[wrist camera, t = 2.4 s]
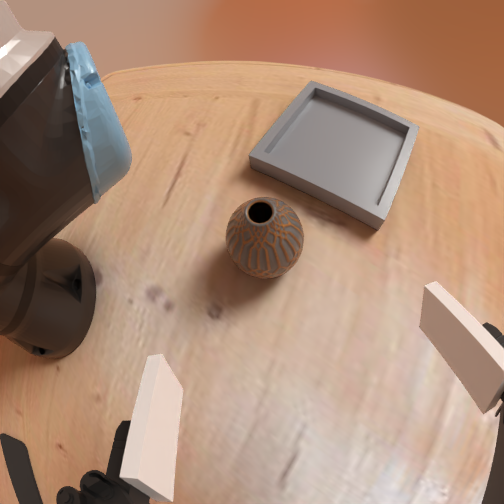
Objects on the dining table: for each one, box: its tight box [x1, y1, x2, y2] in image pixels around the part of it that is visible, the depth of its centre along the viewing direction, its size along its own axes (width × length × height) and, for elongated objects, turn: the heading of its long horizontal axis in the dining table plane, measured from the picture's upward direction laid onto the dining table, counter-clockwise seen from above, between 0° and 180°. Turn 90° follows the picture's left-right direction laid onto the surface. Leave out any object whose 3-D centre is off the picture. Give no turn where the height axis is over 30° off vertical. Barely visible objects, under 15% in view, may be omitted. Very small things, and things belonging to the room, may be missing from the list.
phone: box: [0, 434, 43, 504], centre depth 21 cm, size 7×1×15 cm
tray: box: [249, 81, 419, 230], centre depth 32 cm, size 16×16×2 cm
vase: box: [226, 197, 304, 278], centre depth 26 cm, size 7×7×9 cm
